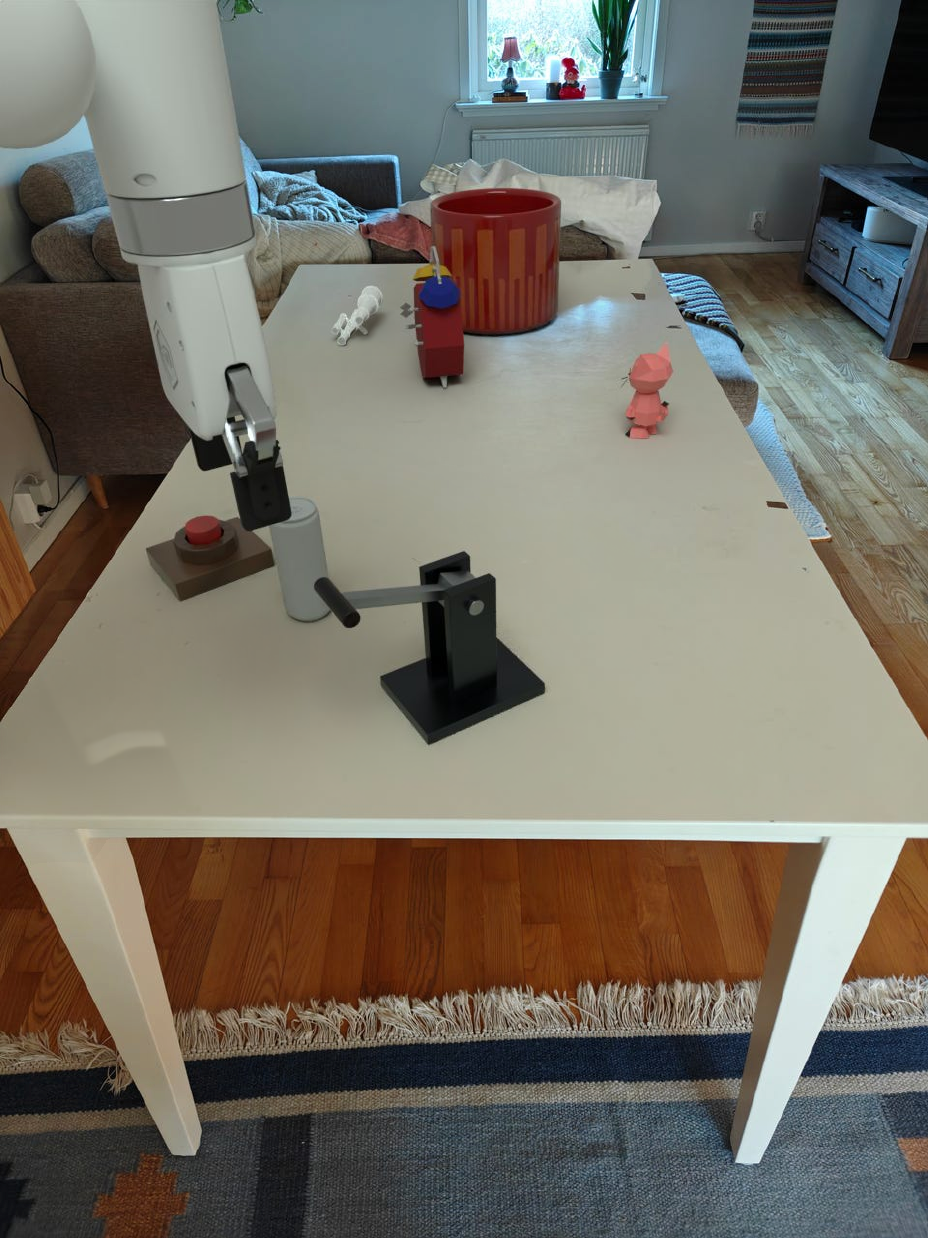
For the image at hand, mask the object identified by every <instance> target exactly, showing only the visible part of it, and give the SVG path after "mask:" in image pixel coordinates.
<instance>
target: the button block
mask: <svg viewBox="0 0 928 1238" xmlns="http://www.w3.org/2000/svg"><path fill="white" fill-rule="evenodd" d="M217 519H218V520H219V523H220V528H221V532H222V537H221V538H220V539H218V540H217V541H215V542H212V543H209V544H205V545H194V544H191V543H189V541H188V537H187V533H186V530H185V525H184V526H183V527H182V528H180V529H179V530H178V531H176V532H175V533H174V538H171V539H168V540H166V541H163V542H160V543H157V544H154V545H151V546H148V547H146V548H145V552H146V555H147V558H148V561H149V564H150V566H151V567H152V569H153V570H154V571H155V572H156V574H157V575H158V576H159V578H161V580H162V581H163V582H164V584H165V585H166V586H167V587H168V588H169V590H170V591H171V592H172V593H173V595H174V596H175V597H176V598H177V600H178V601H179V602H183V601H185V600H187V599H190V598H193V597H195V596H197V595H198V596H199V595H200V594H203V593H206V592H208V591H212V590H214V589H216V588H219V587H221V586H223V585H227V584H229V583H232V582H235V581H237V580H240V579H242V578H245V577H248V576H250V575H253V574H255V573H258V572H261V571H264V570H265V569H269V568H272V567H274V566H275V562H274V556H273V552H272V550H273V549H272V548H271V547H270V546H269V545H268V544H267V542H265V541H264V540H263V539H261V537H259V535H258V534H256V533H255V531H254V530H253V531H246V530H245V529H244V528H243V526H242V525H241V521H240V517H239V516H235V517H232V518H230V519H227V520H222V519H219V518H217Z"/></svg>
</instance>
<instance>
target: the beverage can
mask: <svg viewBox="0 0 928 1238" xmlns="http://www.w3.org/2000/svg"><path fill="white" fill-rule="evenodd" d="M289 501H290V507H291V512H292V516H291V518H290V519H289V520H286V521H283V522H280V523H276V524H273V525H270V526H268V527H269V532H270V533H269V534H270V538H271V544H272V548H273V554H274V558H275V563H276V568H277V573H278V574H277V575H278V578H279V584H280V589H281V593H282V598H283V603H284V608H285V611H286V613H287V614H288V615H289V616H290V617H291V618H292V619H296V620H297V621H300V622H307V623H308V622H314V621H318V620H320V619H322V618H324V617H326V615H328V613H329V612H330V611H331V610H330V608H329V607H328V606H327V605H326V604H325V602H324V601H323V600H322V599H321V597H320V596H319V595H318V594H317V593H316V591H315V590H314V583H315V582H316V580H318V579H319V578H321V577H327V578H329V579H330V576H329V570H328V563H327V557H326V551H325V544H324V537H323V530H322V525H321V519H320V518H321V517H320V512H319V509H318V507H317V503H316V502H315V500H313V499H311V498H309V497H306V496H305V497H304V496H296V495H295V496H289Z"/></svg>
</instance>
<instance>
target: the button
mask: <svg viewBox="0 0 928 1238" xmlns="http://www.w3.org/2000/svg"><path fill="white" fill-rule="evenodd" d="M218 519H219V518H218V517H216V516H213V515H207V514H206V515H199V516H195V517H192V518H190V519H189V520H188V521H186V523H185V524H184V526H185V530H186V533H187V537H188V541H189V543H191V544H194V545H205V544H209V543H212V542H215V541H217V540H218V539H220V538H221V537H222V532H221V528H220V523H219V520H220V519H219V520H218Z"/></svg>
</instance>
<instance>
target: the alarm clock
mask: <svg viewBox="0 0 928 1238" xmlns="http://www.w3.org/2000/svg"><path fill="white" fill-rule="evenodd" d="M433 251H434V254H435V258H436V264H433ZM429 254H430V256H429V257H430V259H429V264H427V265H425V266H422V267H419V268H417V269H416V271H415V273H414V274H413V275H414V276H413V277H412V281H415V282H416V284H415V285H414V287H413V305H410V304H409V303H408V302H405V303H404V304H402V305H401V306H400V307H399V308H400V309H401V310H403V311H402V312H401V313H400V316H402V317H404V318H405V319H407V318H408V317H409V316H411V315H412V314H414V315H413V317H414V318H413V319H414V323H412V324H411V323H410V324H408V325H406V329H408V330H412V329H415V338H416V340H415V341H414V343H413V345H414V346H415V347H416V348H417V349H416V350H417V356H418V361H419V366H420V373H421V378H422V379H431V378H439V379H440V381H441V385H442V388H443V389H446V388H447V386H448V385H447V383H448V377H454V376H460V375H461V376H462V375H464V363H465V336H464V332H463V324H462V312H461V304H460V299H459V296H460V294H461V292H460V290H459V289H458V288H457V286H456V282H455V281H451V279H450V278H451V277H453V276H452V275H451V274H450V272H449V271H448V269H447V268H446V267H445V266H442V265H439V259H438V255H437V251H436V247H435V246H433V247H432V246H431V247H430V248H429ZM417 282H418V283H417Z"/></svg>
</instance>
